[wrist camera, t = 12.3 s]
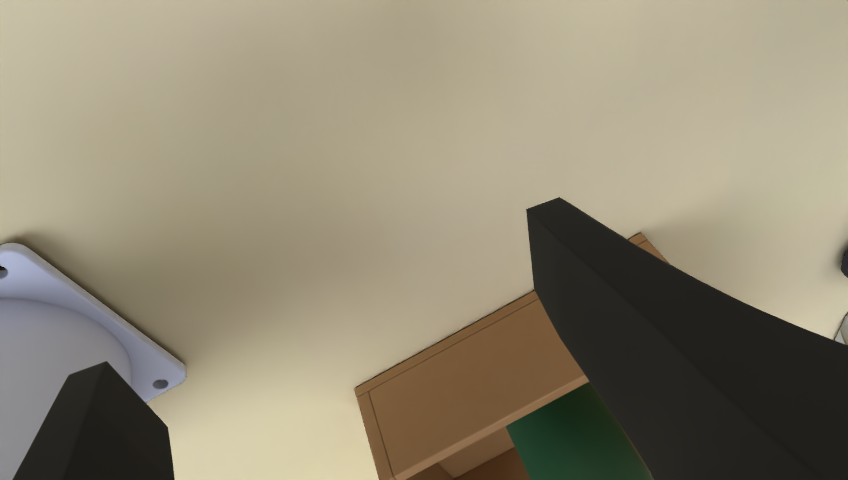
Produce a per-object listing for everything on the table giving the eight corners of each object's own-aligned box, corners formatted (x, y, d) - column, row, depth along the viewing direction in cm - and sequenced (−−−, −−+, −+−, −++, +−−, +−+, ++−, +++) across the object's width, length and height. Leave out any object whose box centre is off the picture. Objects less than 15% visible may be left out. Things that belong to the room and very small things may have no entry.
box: (445, 479, 35) (475, 562, 31) (353, 388, 27) (379, 484, 24) (670, 360, 34) (726, 431, 31) (641, 231, 26) (711, 308, 23)
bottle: (507, 422, 32) (599, 613, 25) (478, 380, 29) (574, 586, 22) (586, 379, 32) (700, 561, 25) (565, 333, 29) (690, 526, 22)
